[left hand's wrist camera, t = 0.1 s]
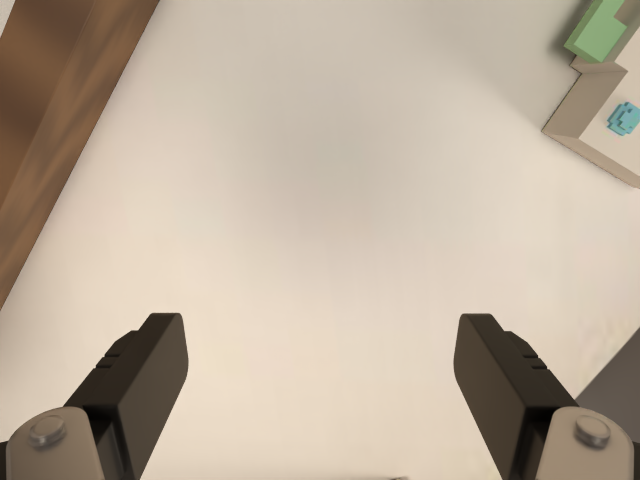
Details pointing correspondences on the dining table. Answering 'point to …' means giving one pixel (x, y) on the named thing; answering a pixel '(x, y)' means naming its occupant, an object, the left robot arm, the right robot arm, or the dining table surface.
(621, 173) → the decorative block
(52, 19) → the beam
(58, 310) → the dining table surface
